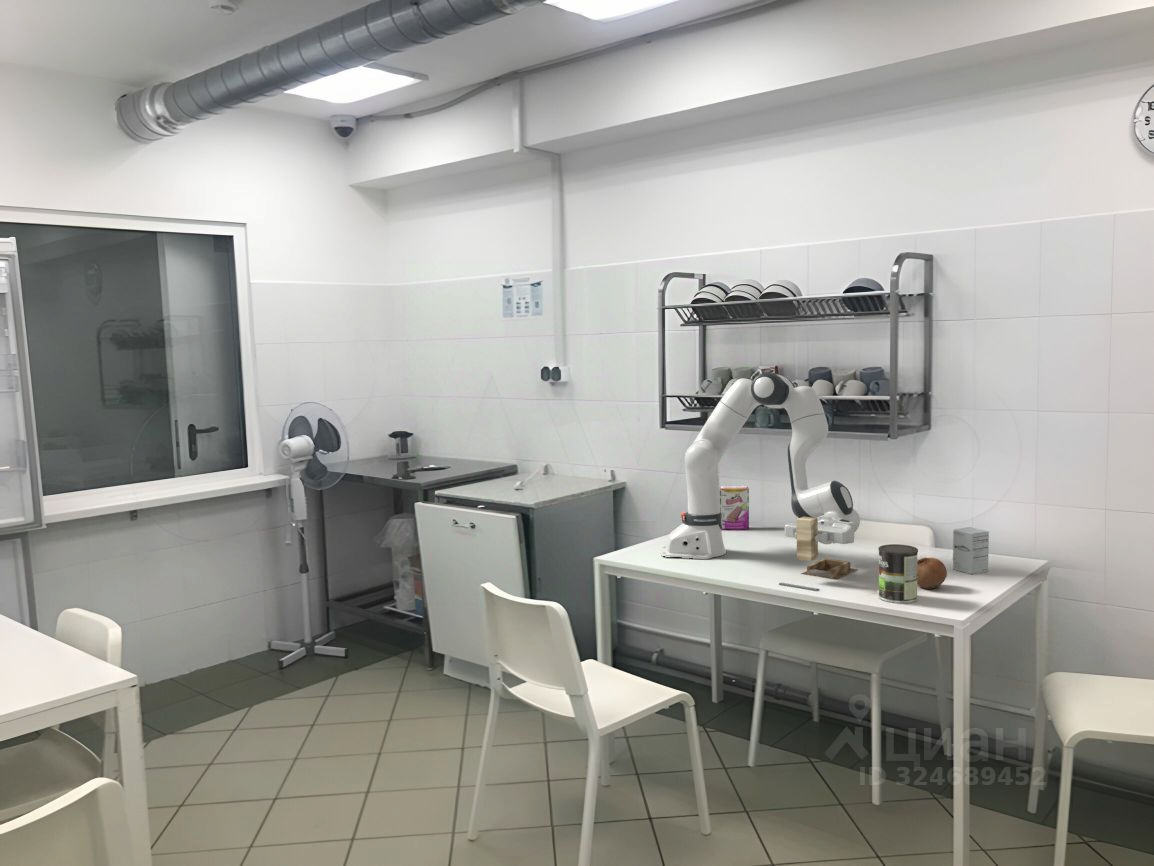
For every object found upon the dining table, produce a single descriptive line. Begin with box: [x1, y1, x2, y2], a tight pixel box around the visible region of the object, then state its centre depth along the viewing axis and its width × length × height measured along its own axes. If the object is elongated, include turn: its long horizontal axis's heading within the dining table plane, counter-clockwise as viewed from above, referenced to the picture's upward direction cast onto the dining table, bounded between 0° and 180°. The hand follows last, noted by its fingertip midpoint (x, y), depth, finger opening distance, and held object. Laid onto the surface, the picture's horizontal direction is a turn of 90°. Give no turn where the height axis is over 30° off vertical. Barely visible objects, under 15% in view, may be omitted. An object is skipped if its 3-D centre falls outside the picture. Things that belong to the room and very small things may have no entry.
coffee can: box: [878, 543, 919, 604], centre depth 248 cm, size 10×10×14 cm
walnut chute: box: [800, 557, 859, 580], centre depth 278 cm, size 15×12×3 cm
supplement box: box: [952, 526, 990, 575], centre depth 274 cm, size 7×7×13 cm
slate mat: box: [778, 582, 820, 592], centre depth 267 cm, size 12×12×1 cm
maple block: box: [795, 517, 819, 562], centre depth 266 cm, size 4×4×12 cm
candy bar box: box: [719, 485, 750, 531], centre depth 347 cm, size 11×5×16 cm, turn 84°
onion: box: [917, 557, 948, 590], centre depth 258 cm, size 10×9×10 cm
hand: (805, 537), depth 265 cm, fingers closed on maple block, 4 cm apart
